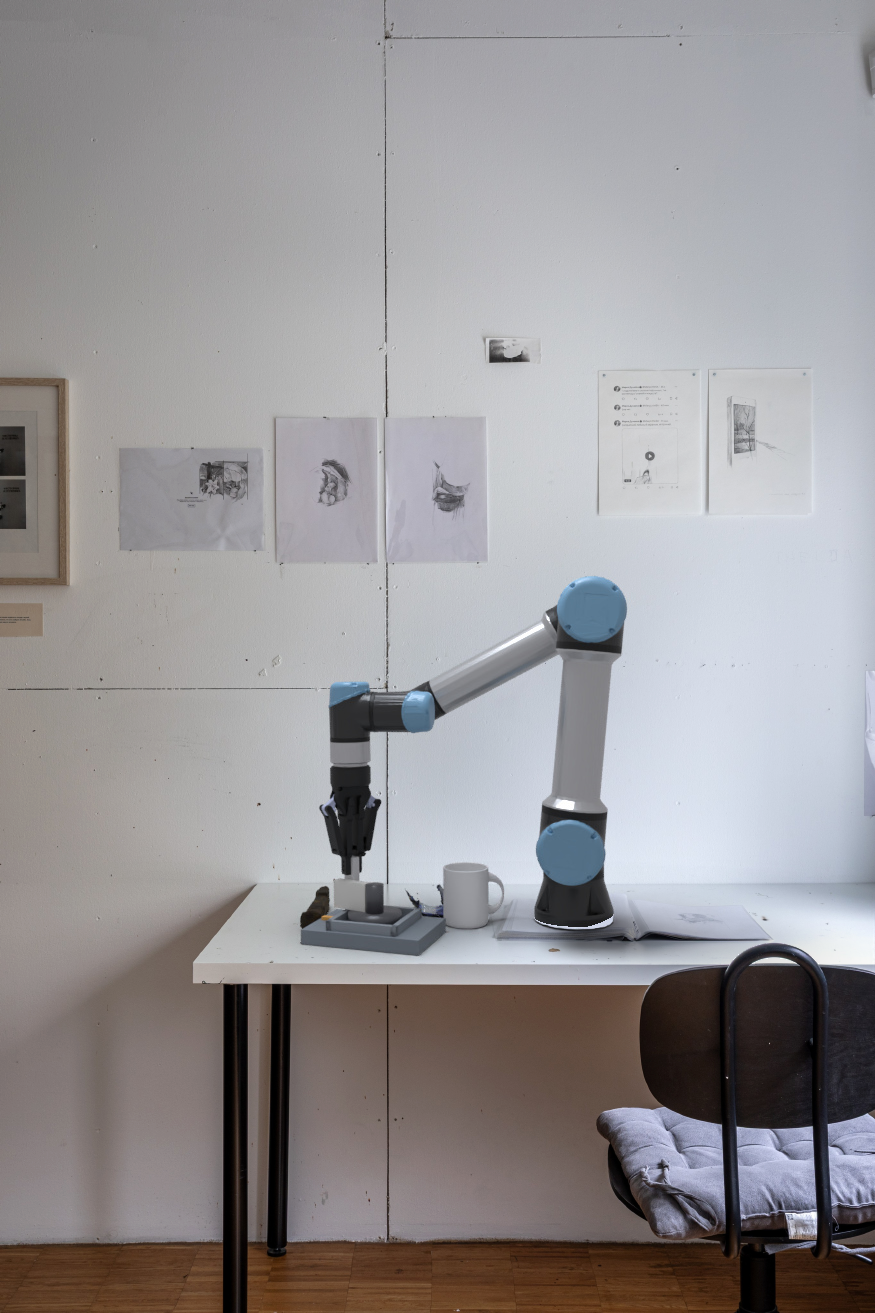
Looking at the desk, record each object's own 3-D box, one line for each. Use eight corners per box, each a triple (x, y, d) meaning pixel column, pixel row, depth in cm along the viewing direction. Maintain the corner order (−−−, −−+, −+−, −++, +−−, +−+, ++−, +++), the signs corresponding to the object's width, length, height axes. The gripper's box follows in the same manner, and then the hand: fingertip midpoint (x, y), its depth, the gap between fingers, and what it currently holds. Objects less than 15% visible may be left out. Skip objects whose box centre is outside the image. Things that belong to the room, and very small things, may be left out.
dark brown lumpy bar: (321, 932, 173) (321, 907, 173) (299, 932, 173) (299, 907, 173) (339, 907, 192) (339, 884, 192) (320, 906, 192) (320, 884, 192)
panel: (445, 932, 172) (445, 909, 172) (418, 955, 158) (418, 930, 158) (336, 922, 179) (336, 900, 179) (300, 944, 165) (300, 920, 165)
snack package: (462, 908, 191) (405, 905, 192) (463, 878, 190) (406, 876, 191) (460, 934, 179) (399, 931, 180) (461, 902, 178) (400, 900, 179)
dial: (411, 919, 170) (411, 882, 170) (381, 932, 162) (381, 893, 162) (352, 910, 177) (352, 874, 177) (320, 922, 169) (320, 884, 169)
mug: (511, 926, 176) (511, 869, 176) (450, 931, 173) (450, 873, 173) (497, 915, 184) (497, 860, 184) (438, 919, 181) (438, 863, 181)
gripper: (365, 760, 181) (367, 882, 181) (309, 765, 172) (311, 894, 172) (390, 762, 175) (392, 889, 175) (333, 768, 167) (335, 901, 167)
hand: (352, 891), depth 174 cm, fingers closed
